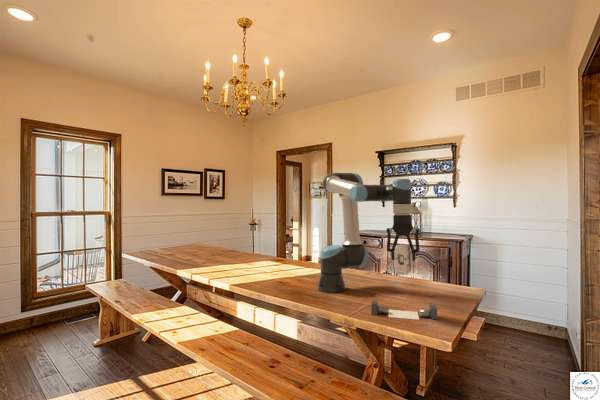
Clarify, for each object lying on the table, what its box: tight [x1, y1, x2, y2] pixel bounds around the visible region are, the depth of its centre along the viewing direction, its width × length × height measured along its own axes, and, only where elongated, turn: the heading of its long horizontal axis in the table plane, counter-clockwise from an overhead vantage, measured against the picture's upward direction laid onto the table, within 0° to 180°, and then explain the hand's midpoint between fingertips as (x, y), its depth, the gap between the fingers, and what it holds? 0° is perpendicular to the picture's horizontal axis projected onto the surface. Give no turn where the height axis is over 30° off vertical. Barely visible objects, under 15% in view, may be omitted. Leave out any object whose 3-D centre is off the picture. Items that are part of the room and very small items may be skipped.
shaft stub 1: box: [370, 299, 388, 316], centre depth 136 cm, size 6×5×4 cm
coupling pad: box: [388, 309, 420, 321], centre depth 134 cm, size 12×9×1 cm
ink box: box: [394, 244, 412, 276], centre depth 137 cm, size 9×5×12 cm, turn 149°
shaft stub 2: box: [418, 304, 438, 321], centre depth 131 cm, size 6×5×4 cm
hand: (403, 267), depth 137 cm, fingers closed on ink box, 6 cm apart
